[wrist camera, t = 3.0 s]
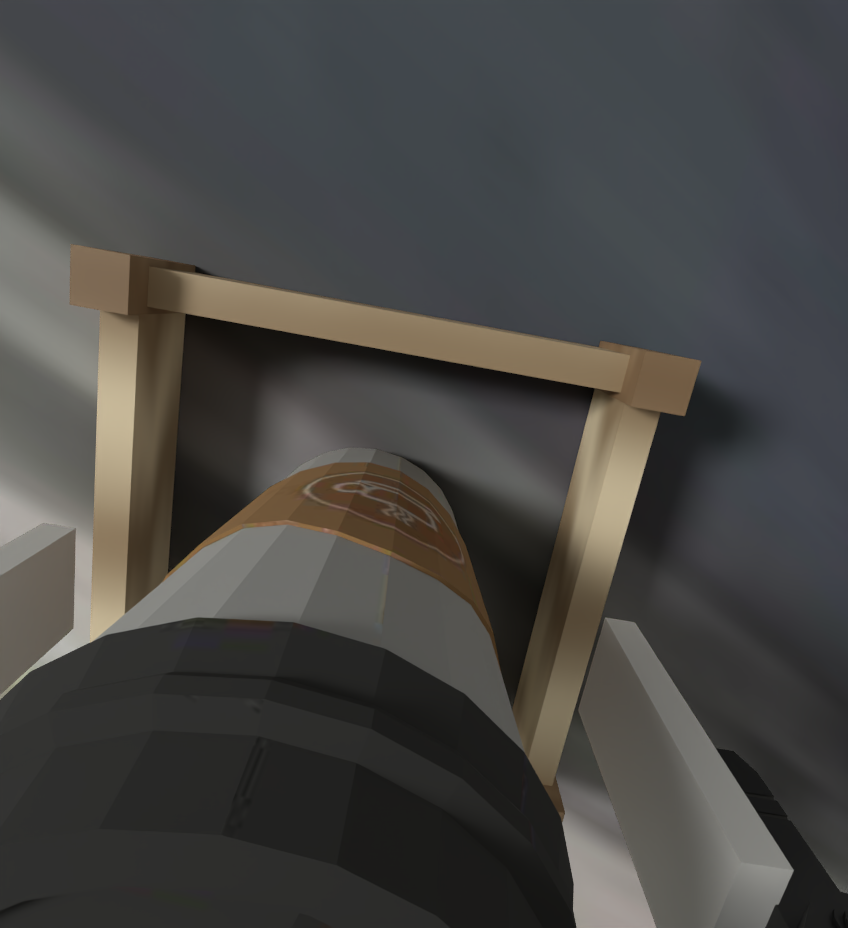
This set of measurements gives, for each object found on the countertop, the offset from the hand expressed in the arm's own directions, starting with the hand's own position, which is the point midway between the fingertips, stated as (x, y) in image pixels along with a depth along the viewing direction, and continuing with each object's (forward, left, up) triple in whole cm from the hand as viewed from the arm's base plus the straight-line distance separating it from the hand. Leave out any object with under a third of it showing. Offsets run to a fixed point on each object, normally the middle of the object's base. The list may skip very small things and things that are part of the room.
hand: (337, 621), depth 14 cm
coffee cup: (0, 0, -6) cm, 6 cm away
